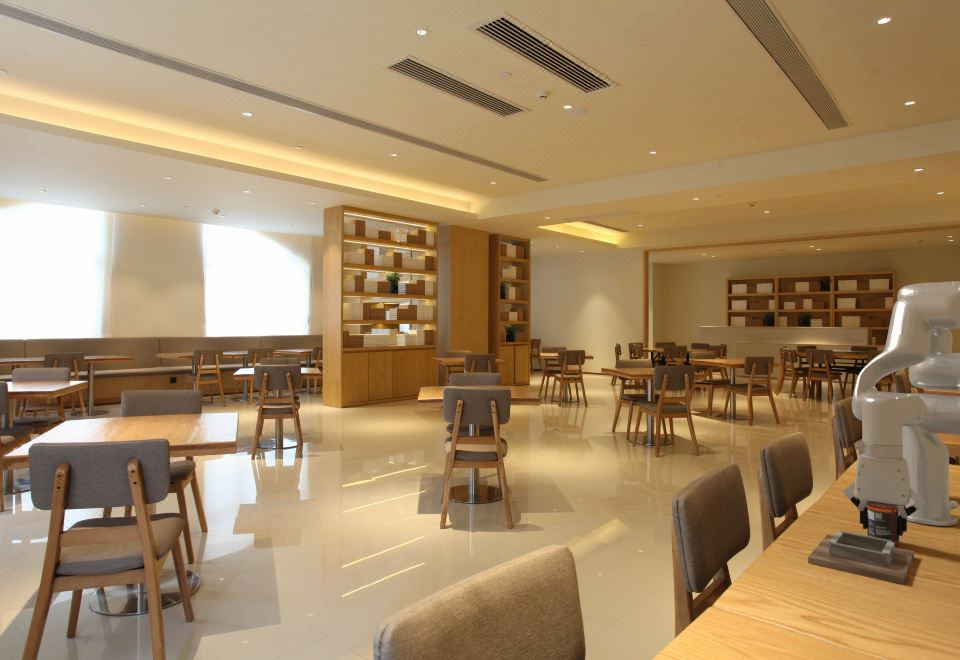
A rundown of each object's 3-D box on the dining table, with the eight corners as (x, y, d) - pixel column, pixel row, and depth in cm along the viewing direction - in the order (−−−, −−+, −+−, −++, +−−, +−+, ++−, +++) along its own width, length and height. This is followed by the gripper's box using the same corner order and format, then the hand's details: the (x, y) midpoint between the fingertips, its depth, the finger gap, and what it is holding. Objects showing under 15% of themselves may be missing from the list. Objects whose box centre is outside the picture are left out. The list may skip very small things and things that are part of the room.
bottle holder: (827, 539, 135) (827, 523, 135) (914, 557, 124) (913, 539, 124) (808, 562, 121) (808, 544, 121) (903, 584, 111) (903, 564, 111)
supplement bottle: (894, 538, 135) (893, 489, 135) (903, 547, 129) (902, 496, 129) (863, 535, 137) (863, 487, 137) (871, 544, 131) (871, 493, 131)
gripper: (834, 448, 136) (835, 527, 136) (928, 459, 125) (929, 544, 125) (841, 443, 142) (842, 518, 142) (931, 453, 130) (932, 534, 130)
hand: (883, 530), depth 133 cm, fingers closed on supplement bottle, 5 cm apart
